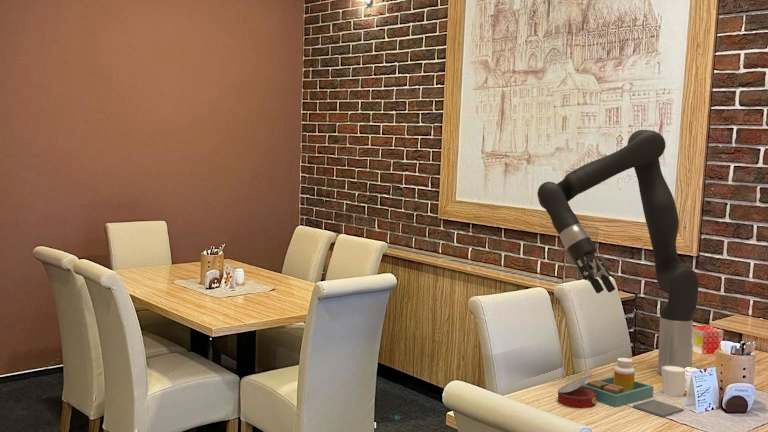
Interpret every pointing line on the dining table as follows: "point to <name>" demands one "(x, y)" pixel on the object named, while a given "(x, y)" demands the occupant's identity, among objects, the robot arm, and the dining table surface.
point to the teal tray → (637, 394)
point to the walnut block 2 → (613, 389)
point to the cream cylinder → (673, 380)
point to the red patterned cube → (706, 339)
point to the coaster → (657, 408)
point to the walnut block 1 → (597, 384)
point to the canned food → (577, 394)
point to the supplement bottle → (624, 374)
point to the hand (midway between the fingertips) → (606, 291)
